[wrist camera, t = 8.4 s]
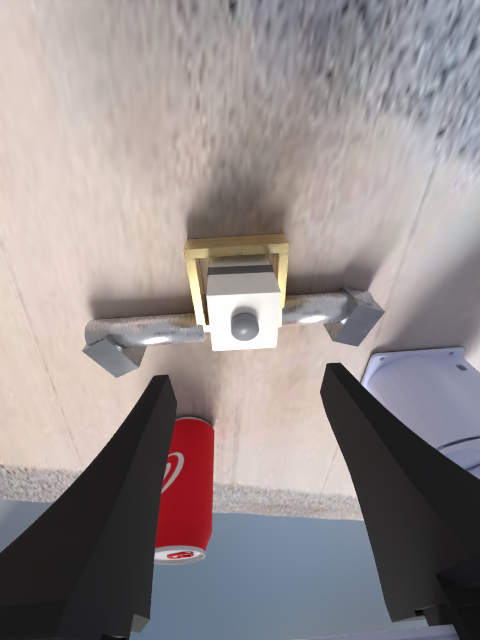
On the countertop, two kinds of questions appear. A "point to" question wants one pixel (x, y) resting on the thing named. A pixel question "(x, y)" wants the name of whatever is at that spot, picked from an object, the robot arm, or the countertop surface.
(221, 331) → the white knobbed block
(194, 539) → the beverage can
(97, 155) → the countertop surface
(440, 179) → the countertop surface
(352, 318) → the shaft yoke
